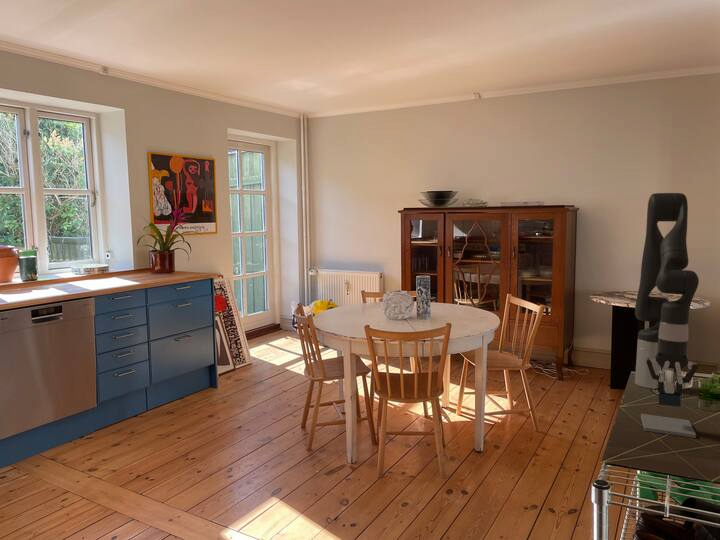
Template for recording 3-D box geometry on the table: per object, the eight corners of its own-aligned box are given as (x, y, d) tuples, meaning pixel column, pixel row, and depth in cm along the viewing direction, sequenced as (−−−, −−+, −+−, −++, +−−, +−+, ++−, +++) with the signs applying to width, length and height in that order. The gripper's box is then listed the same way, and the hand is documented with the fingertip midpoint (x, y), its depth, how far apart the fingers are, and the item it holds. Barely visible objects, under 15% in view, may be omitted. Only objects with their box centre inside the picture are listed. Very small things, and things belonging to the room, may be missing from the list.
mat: (640, 416, 170) (640, 413, 170) (688, 423, 165) (688, 420, 165) (644, 430, 159) (644, 427, 159) (695, 438, 154) (696, 434, 154)
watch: (681, 400, 163) (680, 364, 162) (680, 408, 156) (679, 371, 155) (659, 398, 166) (659, 363, 165) (658, 406, 159) (657, 369, 158)
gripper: (698, 337, 160) (694, 393, 161) (644, 332, 165) (641, 387, 167) (703, 342, 153) (699, 402, 155) (647, 337, 158) (643, 395, 160)
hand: (669, 394), depth 161 cm, fingers closed on watch, 3 cm apart
